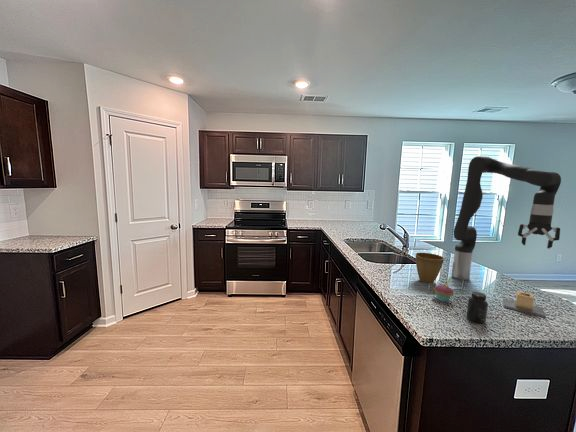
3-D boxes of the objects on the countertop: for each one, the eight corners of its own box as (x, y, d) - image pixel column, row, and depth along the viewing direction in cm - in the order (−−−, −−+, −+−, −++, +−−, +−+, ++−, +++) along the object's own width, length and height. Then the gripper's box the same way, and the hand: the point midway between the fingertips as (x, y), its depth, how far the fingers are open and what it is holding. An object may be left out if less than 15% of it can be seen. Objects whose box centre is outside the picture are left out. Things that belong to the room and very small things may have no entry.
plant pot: (414, 283, 146) (416, 257, 144) (412, 275, 160) (414, 251, 158) (443, 288, 141) (446, 260, 139) (438, 279, 155) (441, 254, 153)
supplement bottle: (462, 316, 110) (465, 290, 109) (476, 316, 111) (479, 290, 109) (474, 325, 103) (478, 297, 102) (490, 324, 104) (493, 297, 102)
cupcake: (450, 297, 129) (452, 275, 128) (455, 304, 121) (457, 281, 120) (431, 294, 132) (433, 272, 131) (435, 301, 124) (437, 278, 123)
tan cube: (515, 306, 118) (517, 294, 118) (514, 302, 123) (516, 291, 122) (531, 310, 115) (533, 298, 114) (530, 306, 119) (532, 294, 118)
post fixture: (504, 307, 119) (505, 295, 119) (503, 300, 127) (504, 289, 126) (545, 317, 111) (547, 304, 110) (541, 309, 118) (543, 297, 118)
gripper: (521, 213, 121) (516, 245, 124) (564, 216, 112) (558, 250, 115) (520, 211, 127) (516, 242, 129) (561, 214, 118) (555, 247, 120)
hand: (536, 246), depth 122 cm, fingers open, 8 cm apart
